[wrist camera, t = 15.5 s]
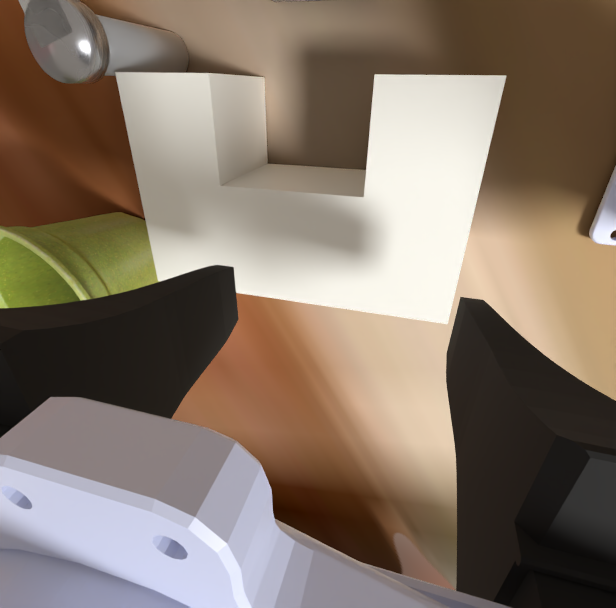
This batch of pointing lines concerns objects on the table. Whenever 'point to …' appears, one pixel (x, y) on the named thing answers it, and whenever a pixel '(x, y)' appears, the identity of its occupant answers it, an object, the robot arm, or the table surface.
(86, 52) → the flat metal lever
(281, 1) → the plug
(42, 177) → the table surface
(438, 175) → the socket block
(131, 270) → the plant pot
